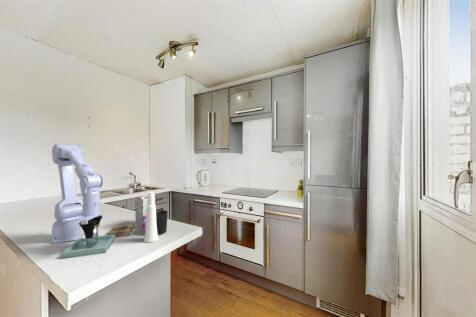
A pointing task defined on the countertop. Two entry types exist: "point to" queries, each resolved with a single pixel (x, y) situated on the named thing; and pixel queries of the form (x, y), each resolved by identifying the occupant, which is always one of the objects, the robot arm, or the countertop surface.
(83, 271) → the countertop surface
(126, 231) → the socket block
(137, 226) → the candy bar box
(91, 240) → the steel pin
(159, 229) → the pen holder
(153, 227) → the cosmetic bottle
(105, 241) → the tray
